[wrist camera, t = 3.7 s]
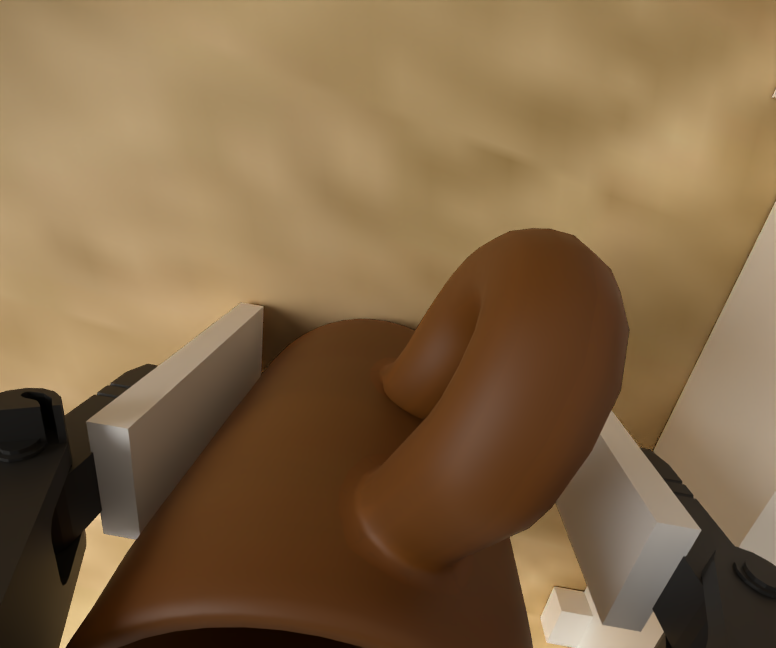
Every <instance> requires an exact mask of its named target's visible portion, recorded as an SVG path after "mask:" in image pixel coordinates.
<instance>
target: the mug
mask: <svg viewBox="0 0 776 648" xmlns="http://www.w3.org/2000/svg"><path fill="white" fill-rule="evenodd" d="M628 337H629V326H628V322H627V318H626V314H625V309H624V305H623V301H622V297H621V293H620V290H619V287H618V285H617V282H616V280H615V278H614V275H613V273H612V271H611V269H610V268H609V267H608V266H607V265H606V264H605V263H604V262H603V261H602V260H601V259H600V258H599V257H598V256H597V255H596V254H595V253H594V252H592V251H591V250H590V249H589V248H588V247H587V246H586V245H584V244H583V243H582V242H581V241H580V240H579V239H578V238H576V237H575V236H574V235H571V234H567V233H564V232H560V231H556V230H553V229H539V228H531V229H523V230H514V231H509V232H507V233H505V234H503V235H501V236H499V237H497V238H495V239H493V240H492V241H490V242H488V243H486V244H485V245H483V246H481V247H480V248H478V249H477V250H476V251H475V252H474V253H472V254H471V255H470V256H469V257H468V258H467V259H466V260H465V261H464V262H463V263H462V264H461V265H460V266H459V267H458V269H457V270H456V271H455V272H454V273H453V275H452V276H451V277H450V279H449V280H448V281H447V283H446V284H445V285H444V287H443V288H442V290H441V291H440V293H439V294H438V296H437V297H436V299H435V300H434V302H433V303H432V305H431V306H430V308H429V309H428V311H427V312H426V314H425V316H424V317H423V319H422V320H421V322H420V324H419V326H418V327H417V329H416V331H415V330H412V329H410V328H408V327H405V326H403V325H399V324H395V323H392V322H388V321H381V320H374V319H352V320H342V321H338V322H334V323H329V324H326V325H324V326H321V327H318V328H316V329H314V330H312V331H310V332H308V333H306V334H304V335H302V336H301V337H299V338H298V339H296V340H295V341H294V342H292V343H291V344H289V345H288V346H287V347H286V348H285V349H284V350H283V351H282V352H281V353H280V354H279V355H278V356H277V357H276V358H275V359H274V360H273V361H272V362H271V364H270V365H269V366H268V367H267V369H266V370H265V371H264V373H263V374H262V375H261V376H260V378H259V379H258V380H257V382H256V383H255V384H254V386H253V387H252V388H251V390H250V391H249V392H248V393H247V395H246V396H245V397H244V398H243V400H242V401H241V402H240V403H239V404H238V406H237V407H236V408H235V409H234V411H233V412H232V413H231V414H230V416H229V417H228V418H227V420H226V421H225V422H224V424H223V425H222V426H221V427H220V429H219V430H218V431H217V433H216V434H215V435H214V437H213V438H212V439H211V441H210V442H209V443H208V445H207V446H206V447H205V449H204V450H203V451H202V452H201V454H200V455H199V456H198V458H197V459H196V460H195V462H194V463H193V464H192V466H191V467H190V468H189V470H188V471H187V472H186V474H185V475H184V476H183V477H182V479H181V480H180V481H179V483H178V484H177V485H176V487H175V488H174V489H173V491H172V492H171V493H170V495H169V496H168V497H167V498H166V500H165V501H164V502H163V504H162V505H161V506H160V508H159V509H158V510H157V512H156V513H155V514H154V516H153V517H152V518H151V520H150V521H149V523H148V524H147V525H146V527H145V528H144V529H143V531H142V532H141V534H140V535H139V536H138V538H137V539H136V541H135V542H134V543H133V545H132V546H131V548H130V549H129V551H128V552H127V553H126V555H125V557H124V558H123V560H122V561H121V563H120V565H119V566H118V568H117V569H116V571H115V573H114V574H113V576H112V577H111V579H110V581H109V582H108V584H107V585H106V587H105V589H104V590H103V592H102V593H101V595H100V597H99V598H98V600H97V601H96V603H95V605H94V606H93V608H92V609H91V611H90V612H89V614H88V615H87V617H86V618H85V620H84V621H83V622H82V624H81V625H80V627H79V628H78V630H77V631H76V632H75V634H74V635H73V637H72V638H71V640H70V642H69V643H68V645H67V646H66V648H533V645H532V638H531V633H530V627H529V622H528V617H527V612H526V607H525V603H524V599H523V594H522V590H521V585H520V581H519V576H518V572H517V568H516V563H515V559H514V554H513V550H512V546H511V541H510V536H512V535H515V534H517V533H519V532H522V531H524V530H526V529H528V528H530V527H531V526H532V525H533V524H534V523H535V522H536V521H537V520H539V519H540V518H541V517H542V516H543V515H544V514H545V513H546V512H547V511H548V510H550V509H551V508H552V506H553V505H554V504H555V502H556V501H557V499H558V498H559V497H560V495H561V494H562V492H563V491H564V490H565V488H566V487H567V485H568V484H569V483H570V481H571V480H572V478H573V477H574V476H575V474H576V473H577V471H578V470H579V469H580V467H581V466H582V464H583V463H584V462H585V460H586V459H587V457H588V456H589V455H590V453H591V452H592V450H593V448H594V446H595V444H596V442H597V439H598V437H599V435H600V433H601V431H602V429H603V427H604V425H605V423H606V421H607V419H608V416H609V414H610V412H611V410H612V408H613V406H614V404H615V402H616V400H617V398H618V395H619V393H620V391H621V386H622V379H623V372H624V365H625V358H626V351H627V344H628Z"/></svg>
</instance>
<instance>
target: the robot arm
mask: <svg viewBox="0 0 776 648" xmlns="http://www.w3.org/2000/svg"><path fill="white" fill-rule="evenodd" d="M263 310H264V306H259V305H253V304H247V303H239V304H238V305H237V306H235V307H234V308H233V309H231V310H230V311H229V312H228V313H226V314H225V315H224V316H222V317H221V318H220V319H218V320H217V321H216V322H215V323H213V324H212V325H211V326H209V327H208V328H207V329H205V330H204V331H203V332H202V333H200V334H199V335H198V336H196V337H195V338H194V339H192V340H191V341H190V342H189V343H187V344H186V345H185V346H183V347H182V348H181V349H179V350H178V351H177V352H176V353H174V354H173V355H172V356H170V357H169V358H168V359H166V360H165V361H164V362H163V363H161V364H160V365H159V366H157V365H151V364H146V365H143V366H141V367H138V368H135V369H133V370H130V371H128V372H126V373H124V374H123V375H121V376H120V377H119V378H117V379H116V380H114V381H113V382H111V384H110V386H109V385H107V386H106V387H104V388H103V389H102V390H100V391H99V392H98V393H97V395H93V396H92V397H90V398H89V399H87V400H86V401H85V402H83V403H82V404H80V405H79V406H78V407H76V408H75V409H73V410H72V411H70V412H69V413H68V414H66V415H65V416H64V410H63V405H62V399H61V397H60V396H59V395H58V394H57V393H56V392H54V391H51V390H47V389H43V388H23V389H16V390H9V391H5V392H1V393H0V648H59V646H60V642H61V638H62V634H63V631H64V627H65V623H66V619H67V616H68V612H69V608H70V605H71V601H72V597H73V593H74V590H75V586H76V582H77V578H78V575H79V571H80V567H81V563H82V560H83V556H84V552H85V549H86V533H85V528H86V527H87V526H88V525H89V524H90V523H91V522H92V521H93V520H94V519H95V518H96V517H97V515H98V514H99V513H101V520H102V526H103V532H104V534H108V535H114V536H119V537H125V538H130V539H137V538H138V536H139V535H140V534H141V532H142V531H143V529H144V528H145V527H146V525H147V524H148V523H149V521H150V520H151V518H152V517H153V516H154V514H155V513H156V512H157V510H158V509H159V508H160V506H161V505H162V504H163V502H164V501H165V500H166V498H167V497H168V496H169V495H170V493H171V492H172V491H173V489H174V488H175V487H176V485H177V484H178V483H179V481H180V480H181V479H182V477H183V476H184V475H185V474H186V472H187V471H188V470H189V468H190V467H191V466H192V464H193V463H194V462H195V460H196V459H197V458H198V456H199V455H200V454H201V452H202V451H203V450H204V449H205V447H206V446H207V445H208V443H209V442H210V441H211V439H212V438H213V437H214V435H215V434H216V433H217V431H218V430H219V429H220V427H221V426H222V425H223V424H224V422H225V421H226V420H227V418H228V417H229V416H230V414H231V413H232V412H233V411H234V409H235V408H236V407H237V406H238V404H239V403H240V402H241V401H242V400H243V398H244V397H245V396H246V395H247V393H248V392H249V391H250V390H251V388H252V387H253V386H254V384H255V383H256V382H257V380H258V379H259V378H260V376H261V367H262V339H263ZM693 496H694V495H693V494H692V493H691V491H690V490H689V489H688V488H687V486H686V485H684V484H682V480H681V479H680V478H679V476H678V475H677V474H676V473H675V471H674V470H673V469H672V468H671V467H670V465H669V464H667V463H666V462H665V461H664V460H662V459H661V458H660V457H659V456H657V455H656V454H655V453H654V452H652V451H651V450H650V449H644V448H639V446H638V445H637V444H636V442H635V441H634V440H633V438H632V437H631V436H630V434H629V433H628V432H627V430H626V429H625V428H624V426H623V425H622V424H621V422H620V421H619V420H618V418H617V417H616V416H615V414H614V413H613V412H612V410H611V412H610V414H609V416H608V419H607V421H606V423H605V425H604V427H603V429H602V431H601V433H600V435H599V437H598V439H597V442H596V444H595V446H594V448H593V450H592V452H591V453H590V455H589V456H588V457H587V459H586V460H585V462H584V463H583V464H582V466H581V467H580V469H579V470H578V471H577V473H576V474H575V476H574V477H573V478H572V480H571V481H570V483H569V484H568V485H567V487H566V488H565V490H564V491H563V492H562V494H561V495H560V497H559V498H558V499H557V501H556V502H555V503H556V505H557V508H558V511H559V513H560V516H561V519H562V521H563V524H564V526H565V529H566V532H567V534H568V537H569V539H570V542H571V545H572V547H573V550H574V552H575V555H576V558H577V560H578V563H579V566H580V568H581V571H582V573H583V576H584V579H585V581H586V584H587V586H588V589H589V592H590V594H591V597H592V599H593V602H594V605H595V607H596V610H597V613H598V615H599V618H600V620H601V623H602V625H606V626H612V627H617V628H623V629H628V630H633V631H639V632H641V631H642V629H643V628H644V626H645V624H646V623H647V621H648V619H649V618H650V616H651V614H652V612H653V611H654V613H655V615H656V617H657V619H658V621H659V623H660V625H661V627H662V629H663V631H664V632H663V634H662V635H661V637H660V639H659V640H658V642H657V643H656V645H655V647H654V648H776V566H775V565H774V564H772V563H771V562H769V561H767V560H766V559H764V558H762V557H760V556H758V555H757V554H755V553H753V552H750V551H747V550H745V549H742V548H739V547H735V546H734V545H733V543H732V542H731V541H730V540H729V539H728V537H727V536H726V535H725V534H724V532H723V531H722V530H721V529H720V527H719V526H718V525H717V524H716V522H715V521H714V520H713V519H712V517H711V516H710V515H709V514H708V512H707V511H706V510H705V509H704V507H703V506H702V505H701V504H700V503H699V501H698V500H697V499H695V498H693Z"/></svg>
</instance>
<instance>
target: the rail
mask: <svg viewBox="0 0 776 648" xmlns="http://www.w3.org/2000/svg"><path fill="white" fill-rule="evenodd" d="M772 98H776V89H775V92H774V94H773V96H772ZM653 452H654V453H655V454H656V455H657V456H659V457H660V458H661V459H662V460H664V461H665V462H666V463H667V464H669V465H670V467H671V468H672V469H673V470H674V471H675V473H676V474H677V475H678V476H679V478H680V479H681V480H682V484H684V485H686V486H687V488H688V489H689V490H690V491H691V493H692V494H693V495H694V496H693V498H695V499H697V500H698V501H699V503H700V504H701V505H702V506H703V507H704V509H705V510H706V511H707V512H708V514H709V515H710V516H711V517H712V519H713V520H714V521H715V522H716V524H717V525H718V526H719V527H720V529H721V530H722V531H723V532H724V534H725V535H726V536H727V537H728V539H729V540H730V541H731V542H732V543H733V545H734V546H735V547H739V548H742V549H745V550H747V551H750V552H753V553H755V554H757V555H758V556H760V557H762V558H764V559H766V560H767V561H769V562H771V563H772V564H774V565H775V566H776V202H775V204H774V206H773V208H772V210H771V212H770V214H769V216H768V218H767V220H766V222H765V224H764V226H763V228H762V230H761V232H760V234H759V236H758V238H757V240H756V242H755V244H754V246H753V248H752V251H751V253H750V255H749V257H748V259H747V261H746V263H745V265H744V267H743V269H742V271H741V273H740V275H739V277H738V279H737V281H736V283H735V285H734V287H733V289H732V291H731V293H730V295H729V297H728V299H727V301H726V304H725V306H724V308H723V310H722V312H721V314H720V316H719V318H718V320H717V322H716V324H715V326H714V328H713V330H712V332H711V334H710V336H709V338H708V340H707V342H706V344H705V346H704V348H703V350H702V352H701V355H700V357H699V359H698V361H697V363H696V365H695V367H694V369H693V371H692V373H691V375H690V377H689V379H688V381H687V383H686V385H685V387H684V389H683V391H682V393H681V395H680V397H679V399H678V401H677V403H676V406H675V408H674V410H673V412H672V414H671V416H670V418H669V420H668V422H667V424H666V426H665V428H664V430H663V432H662V434H661V436H660V438H659V440H658V442H657V444H656V446H655V448H654V450H653ZM540 619H541V623H542V626H543V630H544V634H545V638H546V642H547V643H551V644H556V645H562V646H567V647H573V648H654V647H655V645H656V643H657V642H658V640H659V639H660V637H661V635H662V634H663V632H664V631H663V629H662V627H661V625H660V623H659V621H658V619H657V617H656V615H655V613H654V611H653V612H652V614H651V616H650V618H649V619H648V621H647V623H646V624H645V626H644V628H643V629H642V631H641V632H639V631H633V630H628V629H623V628H617V627H612V626H606V625H602V623H601V620H600V618H599V615H598V613H597V610H596V607H595V605H594V602H593V599H592V597H591V594H590V592H589V589H588V586H587V587H586V589H585V591H584V592H583V591H577V590H572V589H566V588H560V587H555V586H554V588H553V590H552V592H551V594H550V597H549V599H548V601H547V603H546V606H545V608H544V610H543V612H542V615H541V617H540Z"/></svg>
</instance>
